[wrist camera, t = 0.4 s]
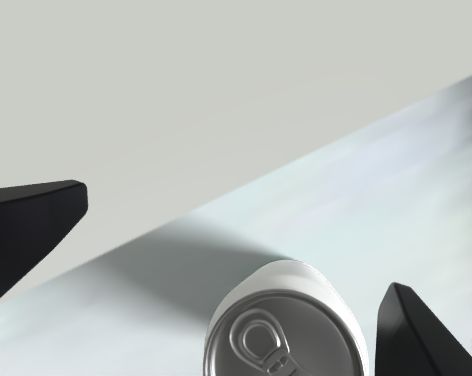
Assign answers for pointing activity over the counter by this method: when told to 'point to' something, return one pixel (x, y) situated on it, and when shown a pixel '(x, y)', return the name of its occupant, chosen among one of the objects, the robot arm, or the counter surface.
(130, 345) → the counter surface
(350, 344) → the can
